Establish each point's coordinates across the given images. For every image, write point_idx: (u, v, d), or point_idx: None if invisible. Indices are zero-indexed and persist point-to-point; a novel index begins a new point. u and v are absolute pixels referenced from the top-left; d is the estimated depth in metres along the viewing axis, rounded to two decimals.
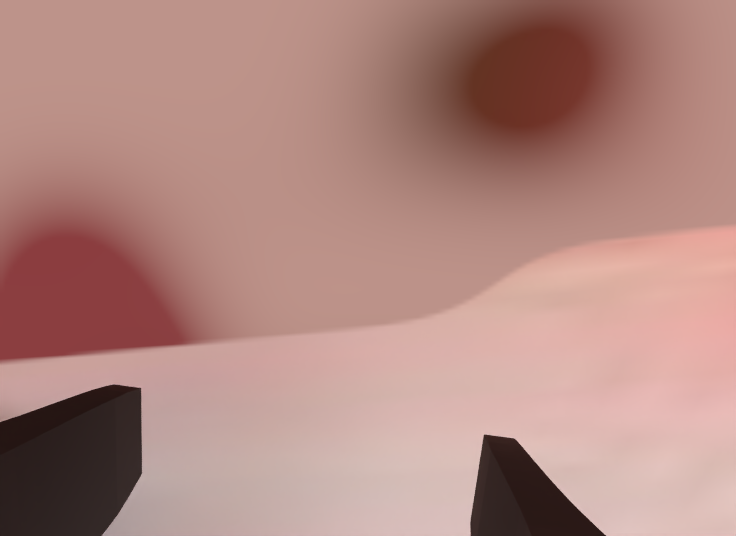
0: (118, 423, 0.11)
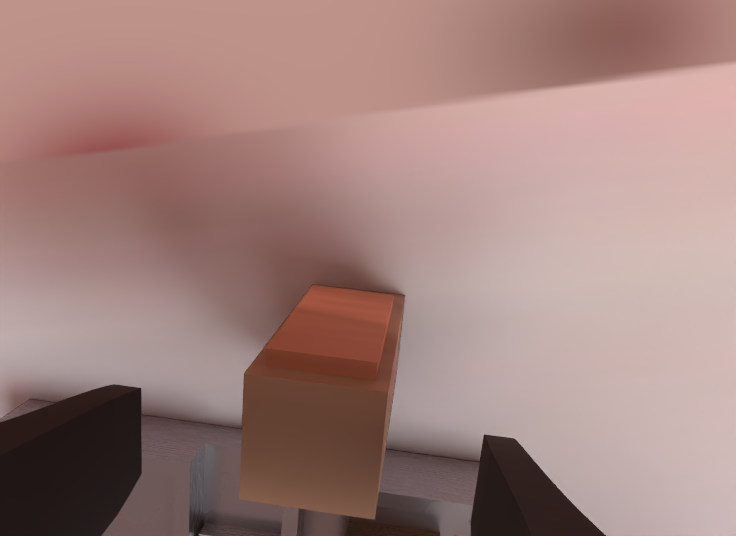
0: (118, 423, 0.11)
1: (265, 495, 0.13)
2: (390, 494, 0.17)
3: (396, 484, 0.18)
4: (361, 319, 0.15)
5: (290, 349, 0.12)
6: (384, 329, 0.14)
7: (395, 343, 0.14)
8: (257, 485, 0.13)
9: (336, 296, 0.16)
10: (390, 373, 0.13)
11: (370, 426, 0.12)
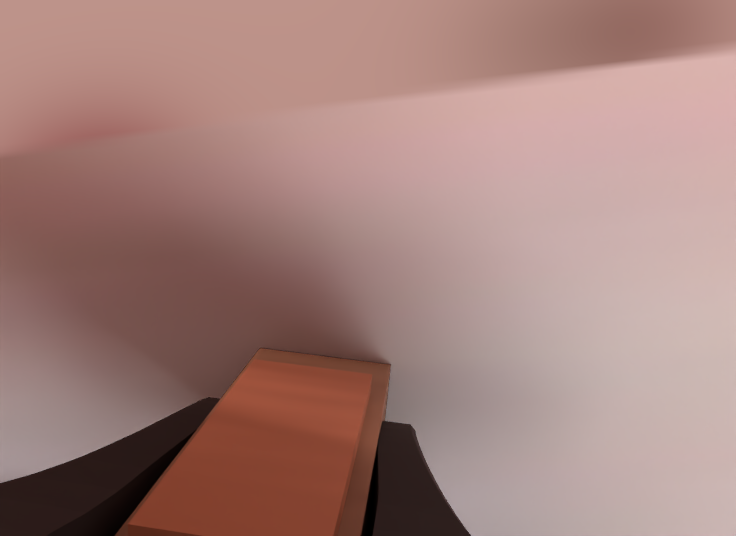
0: None
1: None
2: None
3: None
4: (314, 432, 0.09)
5: (173, 524, 0.07)
6: (350, 456, 0.09)
7: (369, 475, 0.09)
8: None
9: (284, 380, 0.11)
10: None
11: None
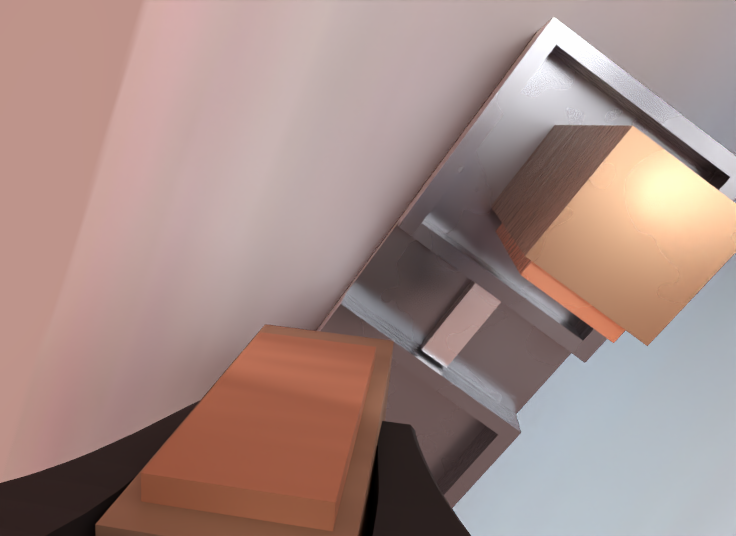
0: None
1: None
2: (466, 134, 0.16)
3: (468, 130, 0.17)
4: (321, 395, 0.09)
5: (185, 474, 0.07)
6: (355, 418, 0.09)
7: (374, 437, 0.09)
8: None
9: (290, 350, 0.11)
10: (360, 511, 0.07)
11: None
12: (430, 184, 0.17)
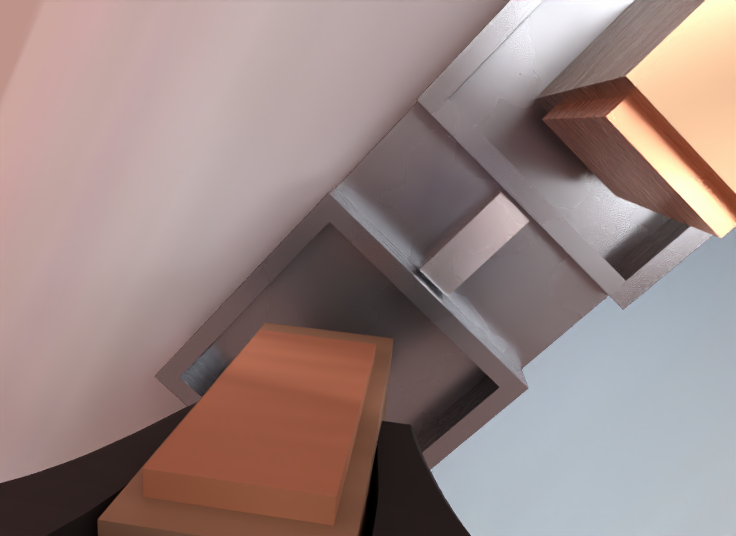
0: None
1: None
2: None
3: None
4: (321, 392, 0.09)
5: (186, 469, 0.07)
6: (356, 414, 0.09)
7: (374, 433, 0.09)
8: None
9: (290, 348, 0.11)
10: (361, 506, 0.07)
11: None
12: (467, 47, 0.13)
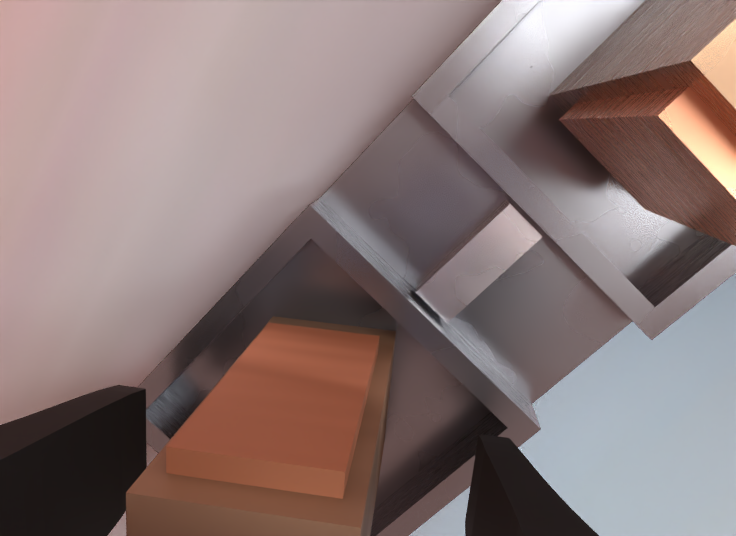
0: (123, 424, 0.11)
1: None
2: None
3: None
4: (329, 380, 0.10)
5: (206, 447, 0.08)
6: (362, 399, 0.09)
7: (378, 418, 0.10)
8: None
9: (298, 339, 0.12)
10: (367, 482, 0.08)
11: None
12: (471, 35, 0.11)
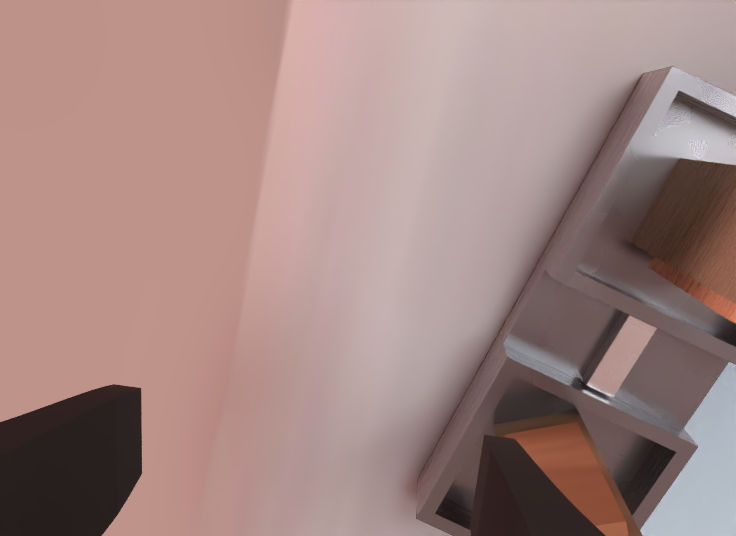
0: (118, 423, 0.11)
1: None
2: (606, 185, 0.18)
3: (603, 179, 0.18)
4: (573, 466, 0.17)
5: None
6: (601, 473, 0.16)
7: (612, 480, 0.17)
8: None
9: (532, 442, 0.19)
10: (634, 522, 0.15)
11: None
12: (577, 235, 0.18)
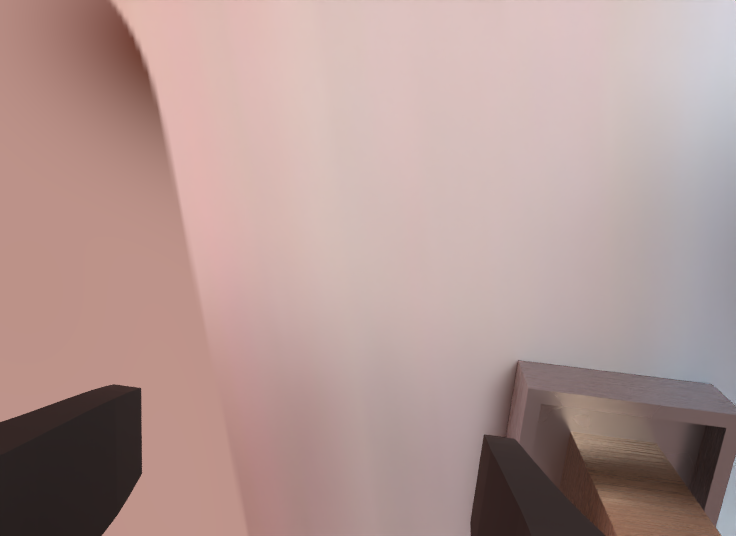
0: (118, 423, 0.11)
1: None
2: None
3: None
4: None
5: None
6: None
7: None
8: None
9: None
10: None
11: None
12: None
